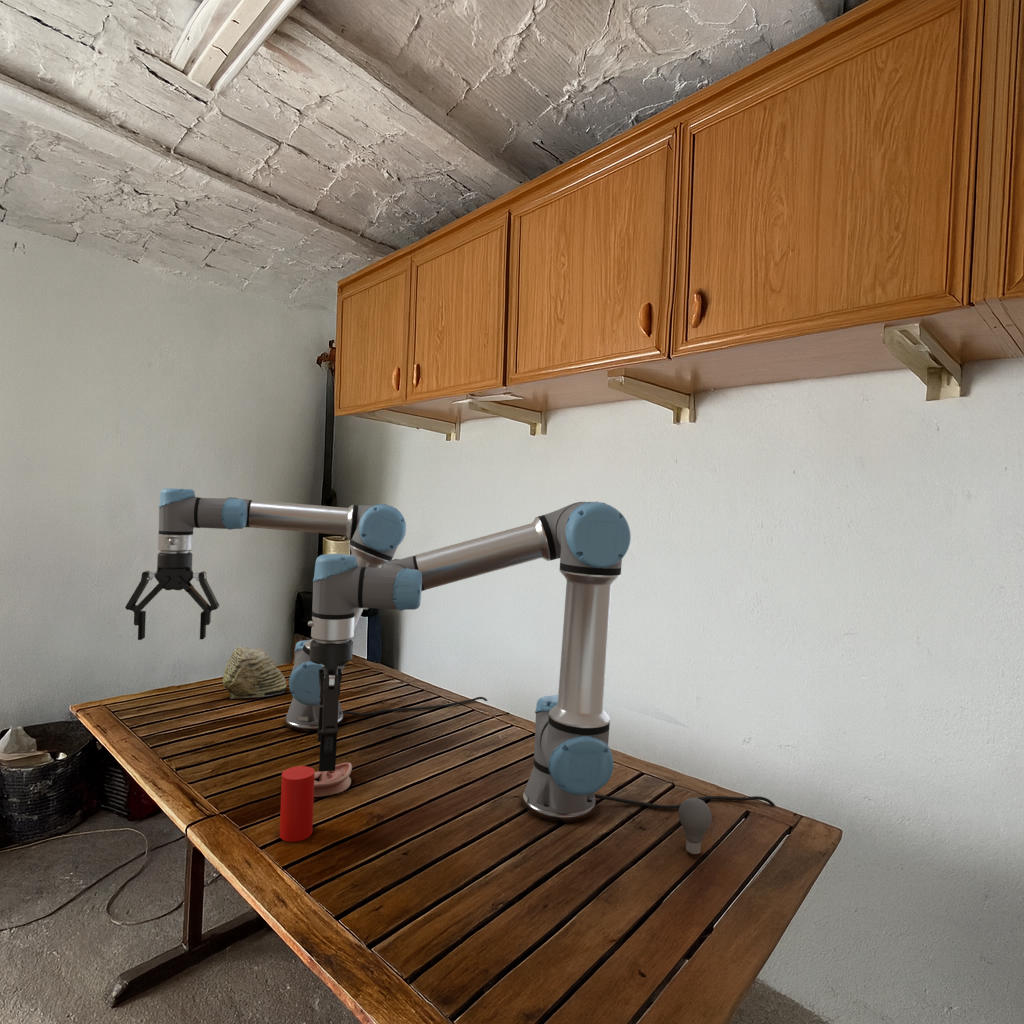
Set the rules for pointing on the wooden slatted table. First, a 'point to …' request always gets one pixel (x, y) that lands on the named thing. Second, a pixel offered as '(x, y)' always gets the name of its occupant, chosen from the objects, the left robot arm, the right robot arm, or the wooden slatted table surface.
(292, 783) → the red cylinder
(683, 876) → the wooden slatted table surface
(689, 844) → the light bulb
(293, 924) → the wooden slatted table surface
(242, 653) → the fossil
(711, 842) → the wooden slatted table surface
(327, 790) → the anatomical model
